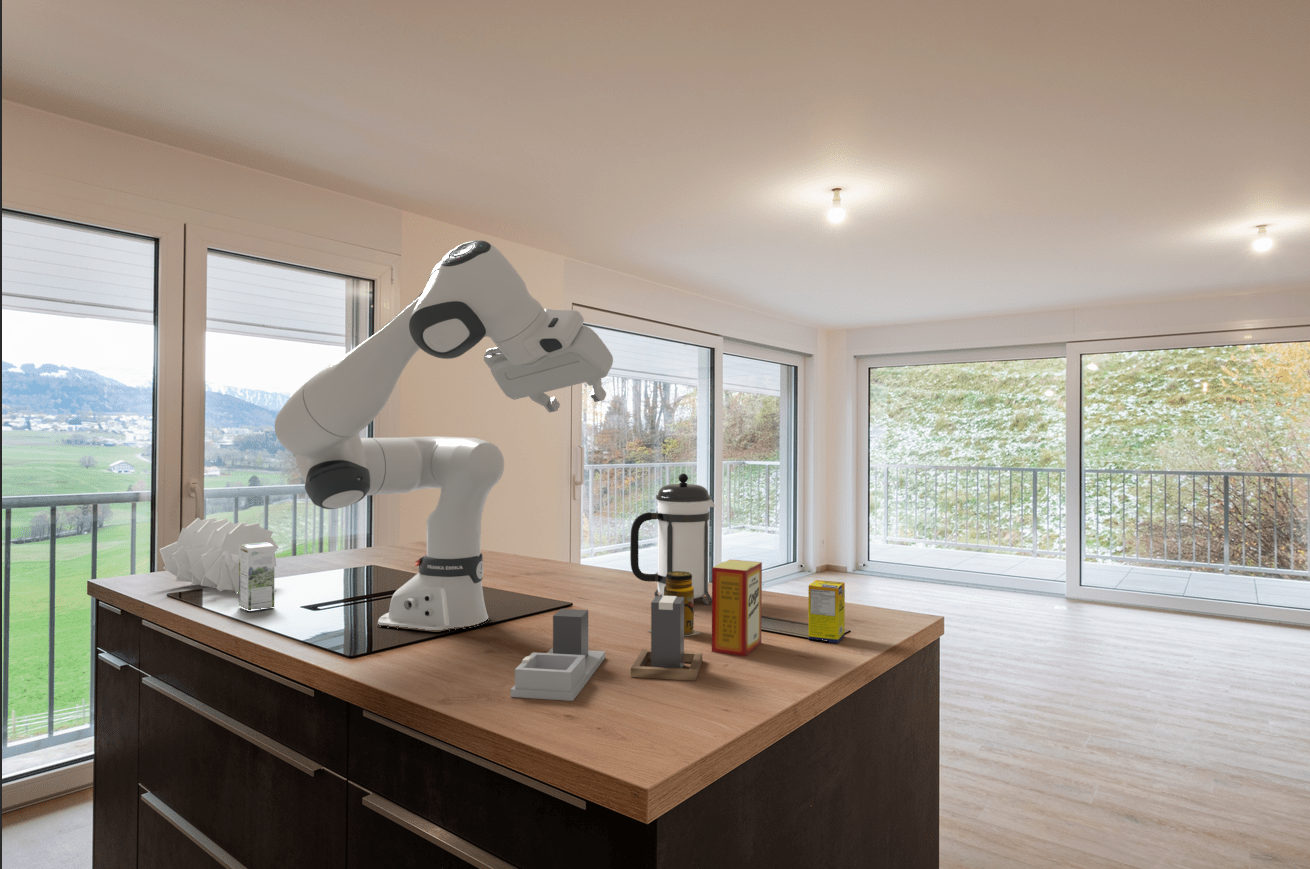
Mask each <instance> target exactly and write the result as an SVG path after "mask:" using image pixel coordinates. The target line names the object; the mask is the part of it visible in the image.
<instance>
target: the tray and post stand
mask: <svg viewBox="0 0 1310 869" xmlns="http://www.w3.org/2000/svg"><path fill="white" fill-rule="evenodd" d="M605 659H606V651H605V650H590V649H589V610H588V609H574V608H560V609H559V610H558V611H557V612H556V613H555V614H553V615H552V648H550V649H549V650H548V651H547V652H534V651H533V652H531V653H530V654H529V655H528V656H527V655H526V656H525V657H524V658H523V659H522V660H521V663H520V664H519V665H518V666H517V667H516V668H515V669H514V685H513V686H512V687H511V688H510V697H511V698H522V699H539V700H550V701H551V700H553V701H554V700H557V701H569V702H573V701H574V700H575V699H576V697H578V695H579V693H580V692H581V691H582V690H583V689H584V687H585V686H586V685H587V683H588V682H589V680H590V679H591V678H592V676H593V675H594V674H595V673H596V671H597V669H598V668H599V667H600V666H601V664H602V663H603V662H604V660H605Z"/></svg>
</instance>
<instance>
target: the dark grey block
mask: <svg viewBox="0 0 1310 869" xmlns="http://www.w3.org/2000/svg"><path fill="white" fill-rule="evenodd" d="M650 609H651V610H650V612H651V613H650V615H651V616H650V620H651V621H650V622H651V623H650V624H651V626H650V629H651V632H650V641H651V642H650V650H651V660H650V667H662V668H680V669H684V666H685V662H684V651H685V636H684V597H677V596H660V595H659V596H656V597H655V596H654V598H653V599H652V601H651V608H650Z"/></svg>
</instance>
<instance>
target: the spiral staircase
mask: <svg viewBox="0 0 1310 869" xmlns="http://www.w3.org/2000/svg"><path fill="white" fill-rule="evenodd" d="M273 532H274V531H272V530H268V529H266V528H263V527H261V524H260V522H256V523H250V524H248V521H247V522H246V521H245V522H239V523H233V522H232V520H229V521H228V517H225V518H222V519H219V520H217V517H216V516H215V517H211V518H205V519H201V518H200V517H197V518H196V519H195V520H193V521H192V522H191V523H190V524H189V525H188V526H186V527H182V529H181V530H180V534H179V536H178V538H177V540H176V541H175V542H172V543H171V544H168V545H166V546H164V547H162V548H159V550H158V551H159V554H160V556H161V559H162V561H163V563H164V566H163V567H162V568H163V569H164V570H165V571H167V572H168V573H170V574H171V575H172V576H174V577H175V582H183V583H184V582H185V583H186V582H187V583H189V582H190V583H191V586H193V585H194V586H198V585H200V586H203V587H209V588H215V589H216V590H219V591H220V590H223V591H234V593H237V592H239V545H245V544H254V543H263V542H267V543H270V544H272V545H273V546H274V548H275V552H276V551H277V550H278V549H279V546H278V545H277V543H276V541H275V540H274V539H273V538H272V535H273ZM275 567H277V561H276V556H275V557H274V568H275ZM219 591H218V592H219ZM220 592H221V591H220Z"/></svg>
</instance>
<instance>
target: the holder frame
mask: <svg viewBox="0 0 1310 869" xmlns="http://www.w3.org/2000/svg"><path fill="white" fill-rule="evenodd" d="M648 661H651V649H647V648H646V649H645V648H643V649H642V650H641V651H640V652H639V654H638V655H637V657H636V658H635V661H634V662H633V664H632V665H631V667H630V678H640V679H641V678H643V679H644V678H645V679H659V680H660V679H661V680H663V679H664V680H678V681H696V680H697V678H698V674H699V671H700V669H701V666H702V663H703V652H701V651H685V650H684V663H691V664H690V666H689V668H683V669H680V668H662V667H651V666H645V665H646V663H647V662H648ZM696 682H697V681H696Z"/></svg>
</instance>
